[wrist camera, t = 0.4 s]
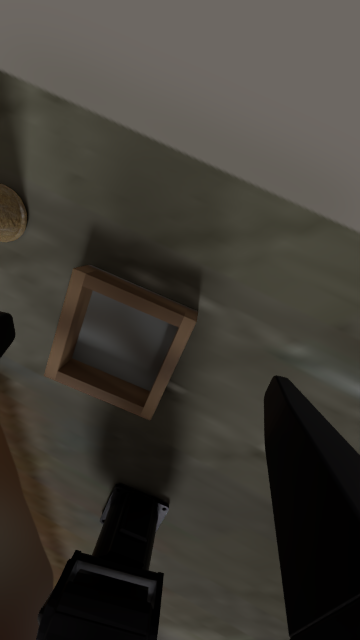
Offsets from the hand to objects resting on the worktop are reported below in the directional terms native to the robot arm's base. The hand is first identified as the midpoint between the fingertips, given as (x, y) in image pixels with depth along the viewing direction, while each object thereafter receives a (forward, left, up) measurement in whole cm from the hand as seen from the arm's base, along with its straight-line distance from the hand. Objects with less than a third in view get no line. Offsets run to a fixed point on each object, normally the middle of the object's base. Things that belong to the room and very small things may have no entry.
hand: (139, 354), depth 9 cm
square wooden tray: (-7, +3, -14) cm, 16 cm away
